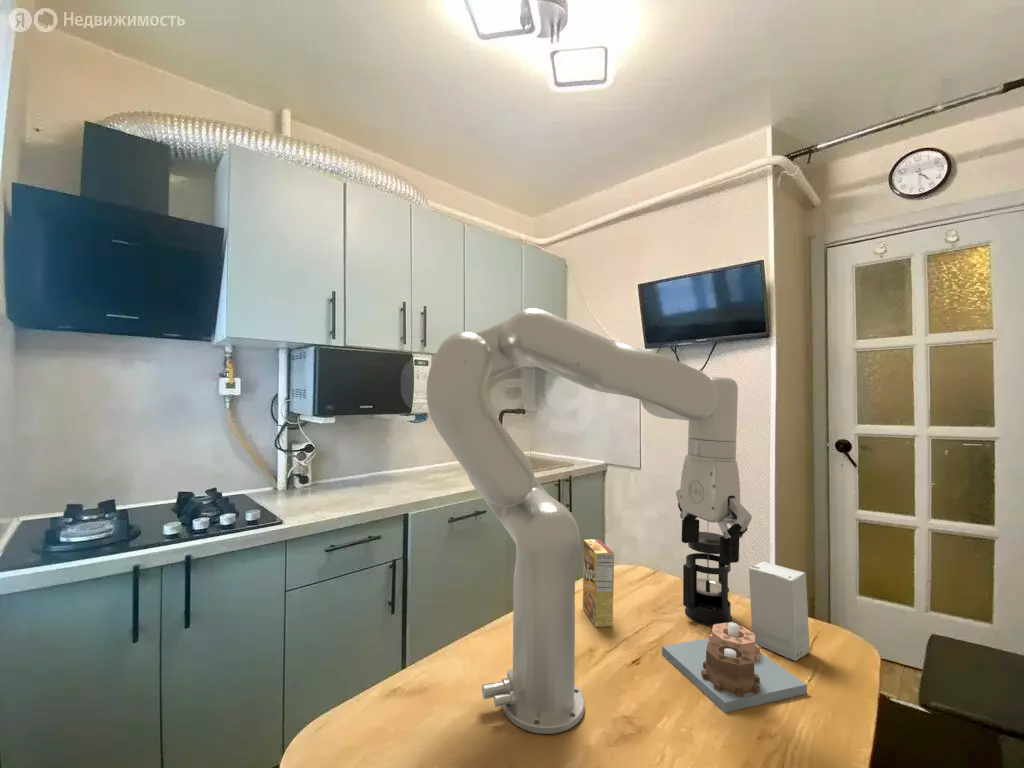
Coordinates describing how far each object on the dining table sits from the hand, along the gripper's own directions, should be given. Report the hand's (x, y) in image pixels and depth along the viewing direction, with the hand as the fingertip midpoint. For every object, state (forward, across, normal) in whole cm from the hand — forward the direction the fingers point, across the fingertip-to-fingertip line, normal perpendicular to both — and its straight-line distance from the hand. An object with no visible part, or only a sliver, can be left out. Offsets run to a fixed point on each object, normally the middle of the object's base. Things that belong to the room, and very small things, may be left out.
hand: (708, 551), depth 77 cm
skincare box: (+21, -6, +21) cm, 30 cm away
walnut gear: (+20, +2, +3) cm, 20 cm away
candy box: (+22, -25, -8) cm, 34 cm away
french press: (+21, -19, +16) cm, 33 cm away
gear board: (+22, -1, +6) cm, 22 cm away
